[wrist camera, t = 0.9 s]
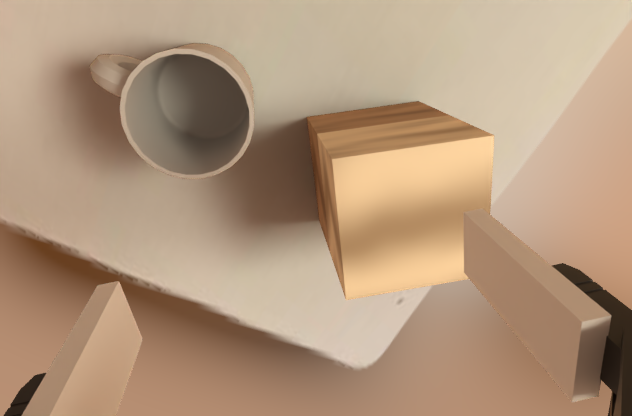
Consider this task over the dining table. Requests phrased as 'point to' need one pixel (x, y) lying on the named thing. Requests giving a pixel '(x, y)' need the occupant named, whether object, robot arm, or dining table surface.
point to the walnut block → (357, 121)
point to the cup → (182, 107)
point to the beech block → (402, 201)
